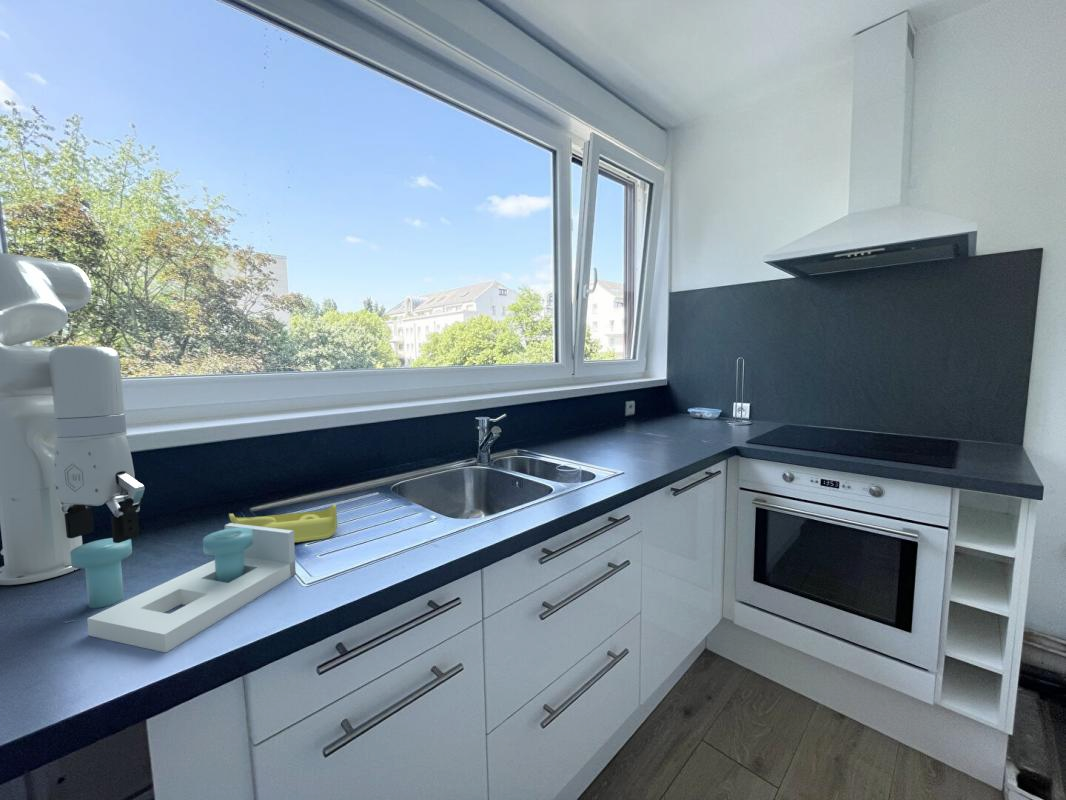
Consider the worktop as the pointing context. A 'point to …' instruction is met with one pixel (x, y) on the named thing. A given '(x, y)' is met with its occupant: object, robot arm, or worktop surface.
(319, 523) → the plastic component
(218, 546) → the teal flanged peg
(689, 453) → the worktop surface
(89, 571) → the teal round plug
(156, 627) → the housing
